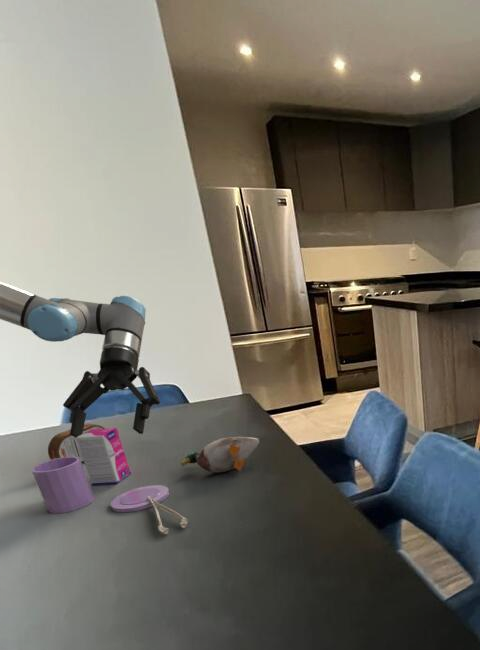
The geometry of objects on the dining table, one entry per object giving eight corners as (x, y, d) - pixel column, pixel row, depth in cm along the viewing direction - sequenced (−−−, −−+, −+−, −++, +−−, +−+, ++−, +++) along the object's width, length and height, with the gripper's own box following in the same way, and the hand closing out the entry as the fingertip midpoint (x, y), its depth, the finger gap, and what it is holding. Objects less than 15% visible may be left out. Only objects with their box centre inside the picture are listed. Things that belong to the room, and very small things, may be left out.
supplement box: (119, 484, 109) (101, 435, 104) (91, 486, 109) (73, 437, 104) (132, 473, 114) (117, 426, 110) (106, 475, 114) (89, 428, 110)
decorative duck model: (168, 448, 109) (222, 425, 121) (180, 479, 112) (232, 453, 124) (212, 450, 102) (265, 425, 115) (224, 482, 105) (275, 454, 117)
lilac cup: (43, 517, 96) (25, 475, 92) (53, 501, 102) (37, 461, 99) (90, 507, 99) (75, 466, 95) (97, 492, 105) (82, 453, 102)
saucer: (107, 517, 94) (106, 513, 94) (115, 496, 103) (113, 492, 103) (168, 503, 98) (167, 499, 98) (170, 484, 107) (169, 480, 107)
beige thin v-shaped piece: (190, 526, 89) (187, 516, 88) (162, 536, 86) (158, 527, 85) (162, 498, 101) (160, 489, 100) (137, 507, 98) (134, 498, 97)
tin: (106, 448, 131) (95, 418, 128) (116, 448, 131) (105, 418, 127) (54, 472, 118) (40, 439, 115) (64, 472, 117) (51, 439, 114)
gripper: (181, 359, 123) (172, 435, 115) (77, 367, 121) (61, 445, 113) (165, 341, 116) (155, 421, 108) (55, 349, 114) (36, 431, 106)
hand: (106, 434), depth 111 cm, fingers open, 13 cm apart
